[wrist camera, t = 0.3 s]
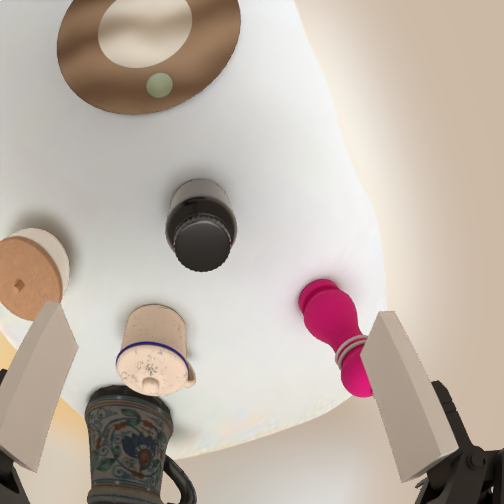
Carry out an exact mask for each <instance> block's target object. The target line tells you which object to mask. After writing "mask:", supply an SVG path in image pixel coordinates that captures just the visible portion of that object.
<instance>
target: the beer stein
mask: <svg viewBox="0 0 504 504" xmlns="http://www.w3.org/2000/svg"><path fill="white" fill-rule="evenodd" d="M85 421H86V424H87V428H88V434H89V445H90V467H91V484H92V487H91V490H90V491H89V493H88V496H87V503H88V504H164V503H163V502H162V501H161V499H160V490H161V483H162V475H163V471H165V472H166V474H167V475H168V476H169V477H170V478H171V479H172V480H173V481H174V482H175V484H176V486H177V487H178V488H179V490H180V493H181V500H180V503H179V504H196V502H197V498H196V492H195V489H194V487H193V485H192V483H191V481H190V480H189V478H188V477H187V475H186V474H185V473H184V471H183V470H182V469H181V468H180V467H179V466H178V465H177V464H176V463H175V462H174V461H173V460H172V459H171V458H170V457H169V456H167V455H166V454H165V452H166V448H167V444H168V441H169V439H170V437H171V436H172V433H173V422H172V419H171V416H170V412H169V409H168V407H167V406H166V405H165V404H164V402H163V401H162V400H161V399H159V398H158V397H156V396H149V395H144V394H141V393H138V392H136V391H134V390H132V389H131V388H129V387H128V386H116V385H112V386H109V387H105V388H101V389H99V390H98V391H97V392H96V393H94V394H93V395H92V396H91V398H90V401H89V403H88V405H87V407H86V410H85ZM167 504H174V503H167Z"/></svg>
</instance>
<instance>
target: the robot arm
mask: <svg viewBox="0 0 504 504" xmlns="http://www.w3.org/2000/svg"><path fill="white" fill-rule="evenodd" d="M77 350H78V345H77V343H76V340H75V338H74V336H73V334H72V331H71V329H70V326H69V324H68V322H67V319H66V317H65V314H64V312H63V309H62V307H61V304H60V303H59V302H50V301H46V302H45V303H44V305H43V307H42V308H41V310H40V312H39V313H38V315H37V317H36V318H35V320H34V322H33V324H32V325H31V327H30V329H29V331H28V332H27V334H26V336H25V338H24V340H23V342H22V343H21V345H20V347H19V349H18V351H17V353H16V355H15V357H14V359H13V361H12V363H11V365H10V367H9V369H8V370H6V369H2V370H1V371H0V504H30V502H29V500H28V498H27V496H26V493H25V491H24V489H23V487H22V484H21V482H20V479H19V477H18V475H17V472H16V469H15V468H14V466H13V462H14V461H15V462H16V463H17V464H19V465H20V466H21V467H24V468H26V469H29V470H31V471H33V472H36V473H37V470H38V466H39V462H40V458H41V454H42V451H43V447H44V444H45V440H46V437H47V433H48V430H49V427H50V424H51V420H52V418H53V414H54V411H55V408H56V406H57V403H58V399H59V397H60V394H61V391H62V388H63V386H64V383H65V380H66V378H67V375H68V372H69V370H70V367H71V365H72V362H73V360H74V357H75V355H76V352H77ZM360 357H361V359H362V362H363V365H364V368H365V370H366V373H367V376H368V379H369V382H370V384H371V387H372V390H373V393H374V396H375V399H376V402H377V405H378V408H379V411H380V414H381V417H382V420H383V423H384V426H385V429H386V433H387V436H388V439H389V442H390V445H391V448H392V452H393V455H394V459H395V462H396V465H397V469H398V472H399V476H400V479H401V483H404V482H407V481H410V480H413V479H416V478H418V477H420V476H421V475H423V474H424V473H427V476H428V477H426V478H425V479H423V480H422V481H420V482H419V483H418V484H417V485H416V486H415V488H418V487H420V486H422V485H423V486H422V488H421V489H420V490H421V491H420V493H419V495H418V498H417V500H416V502H415V504H504V448H503V449H502V450H494V451H484V450H483V449H482V448H480V447H479V446H474V445H473V444H472V443H471V441H470V439H469V437H468V434H467V432H466V430H465V428H464V425H463V423H462V420H461V418H460V416H459V414H458V411H456V407H455V405H454V403H453V402H452V398H451V396H450V394H449V392H448V390H447V389H446V388H445V386H444V385H442V383H441V382H440V381H439V380H438V381H433V382H430V380H429V378H428V375H427V374H426V371H425V370H424V367H423V365H422V363H421V361H420V359H419V357H418V355H417V353H416V351H415V349H414V347H413V345H412V343H411V341H410V340H409V338H408V336H407V334H406V332H405V330H404V328H403V326H402V324H401V323H400V321H399V319H398V317H397V315H396V313H395V312H394V311H384V312H379V313H378V315H377V317H376V320H375V322H374V325H373V327H372V329H371V332H370V334H369V336H368V338H367V341H366V343H365V345H364V347H363V349H362V351H361V354H360ZM491 487H493V493H492V491H491Z"/></svg>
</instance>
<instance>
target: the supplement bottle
mask: <svg viewBox="0 0 504 504" xmlns="http://www.w3.org/2000/svg"><path fill="white" fill-rule="evenodd" d="M165 233H166V239H167V242H168V244H169V246H170V248H171V249H172V251H173V252H174V253H175V254H176V257H178V260H179V261H180V262H181V264H182V265H184V266H185V267H186V268H189V269H190V270H194V271H196V272H197V271H199V272H207V271H212V270H213V269H217V268H218V267H219V266H221V265H222V263H224V262H225V260H226V259H227V258H228V255H229V253H230V249H231V248H232V246H233V244H234V242H235V240H236V236H237V222H236V218H235V215H234V213H233V210H232V208H231V205H230V203H229V200H228V198H227V196H226V194H225V192H224V191H223V189H222V188H221V187H220V186H219V185H217V184H216V183H214V182H212V181H209V180H205V179H195V180H191V181H189V182H186V183H185V184H183V185H182V186H181V187H180V188H179V189H178V190H177V191H176V192H175V194H174V196H173V198H172V201H171V205H170V209H169V212H168V216H167V220H166V227H165Z"/></svg>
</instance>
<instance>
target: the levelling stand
mask: <svg viewBox="0 0 504 504" xmlns="http://www.w3.org/2000/svg"><path fill="white" fill-rule="evenodd" d="M240 25H241V17H240V8H239V4H238V1H237V0H73V2H72V3H71V5H70V7H69V8H68V10H67V12H66V14H65V16H64V18H63V20H62V23H61V26H60V30H59V34H58V40H57V57H58V63H59V67H60V70H61V73H62V75H63V77H64V79H65V81H66V82H67V84H68V85H69V87H70V88H71V89H72V90H73V91H74V92H75V93H76V95H77V96H79V97H80V98H81V99H83V100H84V101H85V102H87V103H89V104H91V105H92V106H94V107H96V108H99V109H102V110H105V111H109V112H114V113H119V114H147V113H153V112H158V111H161V110H165V109H168V108H171V107H174V106H176V105H179V104H181V103H183V102H185V101H186V100H188V99H190V98H192V97H193V96H195V95H196V94H198V93H199V92H201V91H202V90H203V89H204V88H206V87H207V86H208V85H209V84H210V83H211V82H212V81H213V80H214V79H215V78H216V77H217V76H218V75H219V74H220V72H221V71H222V70H223V68H224V67H225V66H226V64H227V62H228V61H229V59H230V57H231V55H232V54H233V52H234V49H235V47H236V44H237V41H238V37H239V33H240Z"/></svg>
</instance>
